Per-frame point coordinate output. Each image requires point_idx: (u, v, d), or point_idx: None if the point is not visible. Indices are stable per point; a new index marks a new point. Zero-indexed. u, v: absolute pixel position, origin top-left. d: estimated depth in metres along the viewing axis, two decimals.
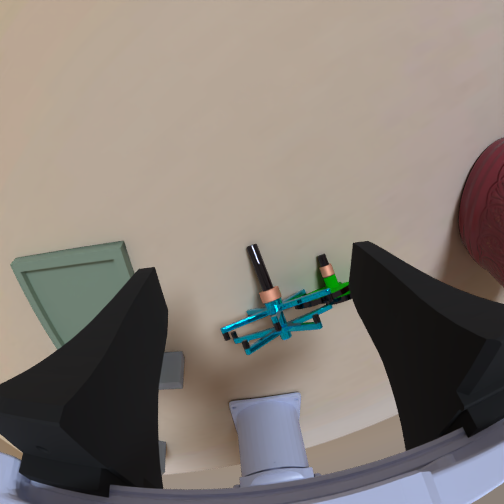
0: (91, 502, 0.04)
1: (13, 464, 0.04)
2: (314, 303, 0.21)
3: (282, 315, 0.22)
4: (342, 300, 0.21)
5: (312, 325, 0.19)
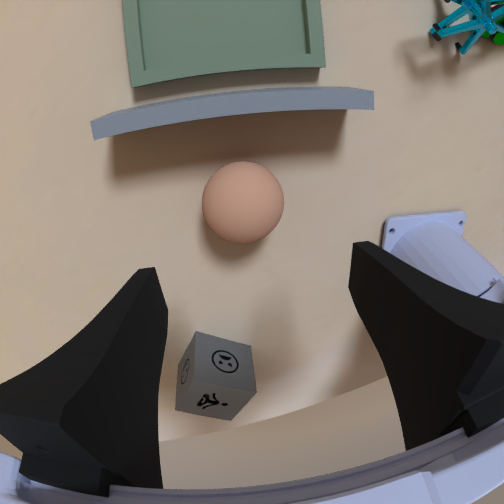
0: (91, 502, 0.04)
1: (13, 463, 0.04)
2: (502, 6, 0.10)
3: None
4: None
5: None
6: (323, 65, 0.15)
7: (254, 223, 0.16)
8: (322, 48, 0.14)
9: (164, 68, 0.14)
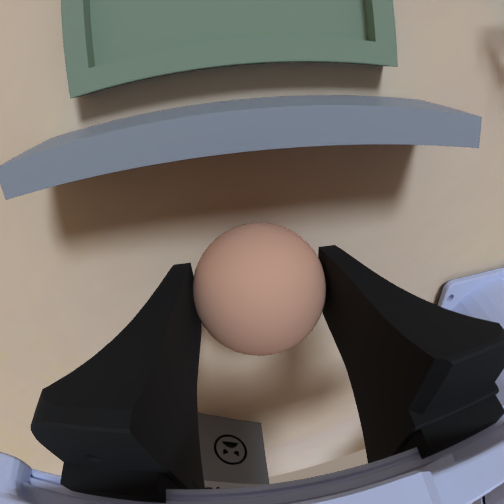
0: (91, 502, 0.04)
1: (13, 463, 0.04)
2: None
3: None
4: None
5: None
6: (394, 63, 0.08)
7: (281, 340, 0.09)
8: (393, 35, 0.08)
9: (122, 61, 0.08)
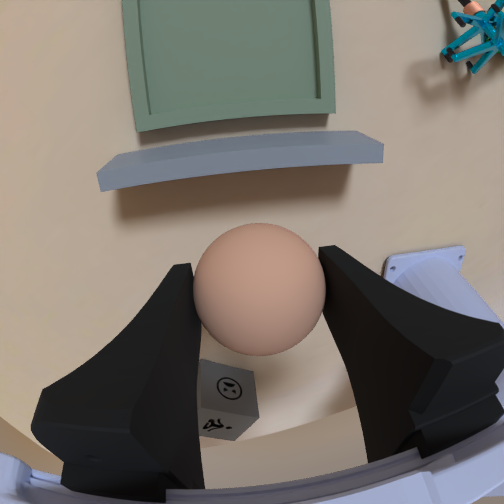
0: (91, 502, 0.04)
1: (13, 464, 0.04)
2: None
3: (494, 29, 0.10)
4: None
5: None
6: (333, 111, 0.15)
7: (281, 340, 0.09)
8: (333, 93, 0.15)
9: (170, 113, 0.15)
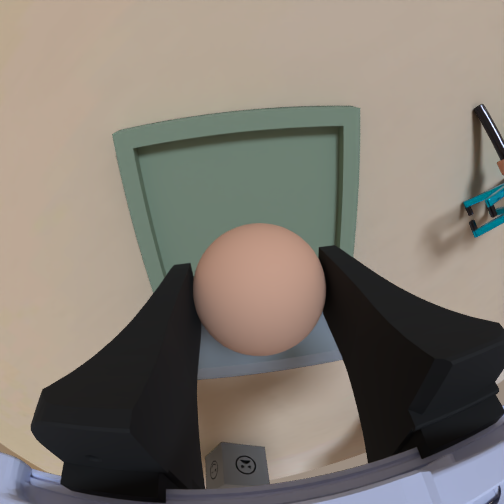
0: (91, 502, 0.04)
1: (13, 464, 0.04)
2: None
3: None
4: None
5: None
6: None
7: (281, 341, 0.09)
8: None
9: None
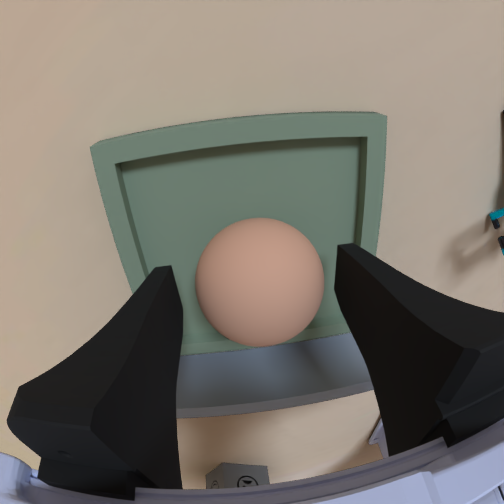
0: (91, 502, 0.04)
1: (13, 464, 0.04)
2: None
3: None
4: None
5: None
6: None
7: (283, 330, 0.09)
8: None
9: (192, 345, 0.15)
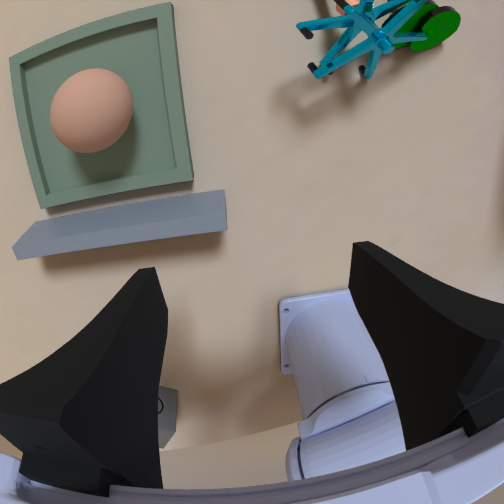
0: (91, 502, 0.04)
1: (13, 464, 0.04)
2: None
3: (374, 23, 0.12)
4: (437, 12, 0.11)
5: None
6: (190, 178, 0.18)
7: (97, 115, 0.12)
8: (187, 161, 0.17)
9: (60, 193, 0.17)
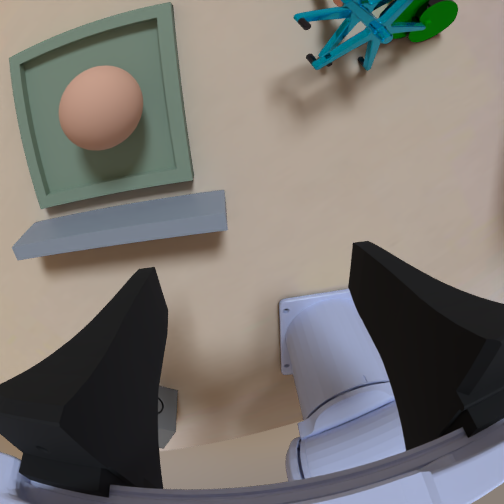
0: (91, 502, 0.04)
1: (13, 464, 0.04)
2: None
3: (371, 13, 0.11)
4: (434, 2, 0.10)
5: None
6: (190, 178, 0.18)
7: (119, 109, 0.12)
8: (187, 162, 0.17)
9: (60, 194, 0.17)
